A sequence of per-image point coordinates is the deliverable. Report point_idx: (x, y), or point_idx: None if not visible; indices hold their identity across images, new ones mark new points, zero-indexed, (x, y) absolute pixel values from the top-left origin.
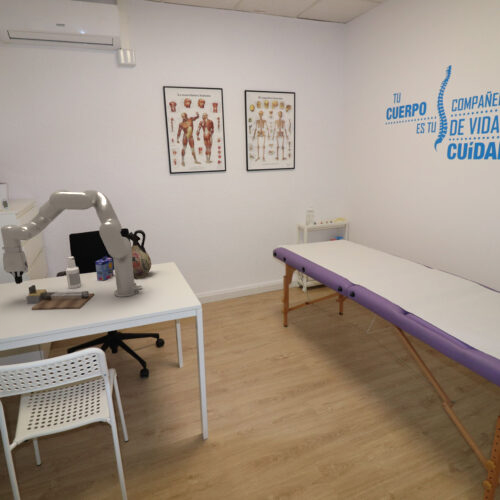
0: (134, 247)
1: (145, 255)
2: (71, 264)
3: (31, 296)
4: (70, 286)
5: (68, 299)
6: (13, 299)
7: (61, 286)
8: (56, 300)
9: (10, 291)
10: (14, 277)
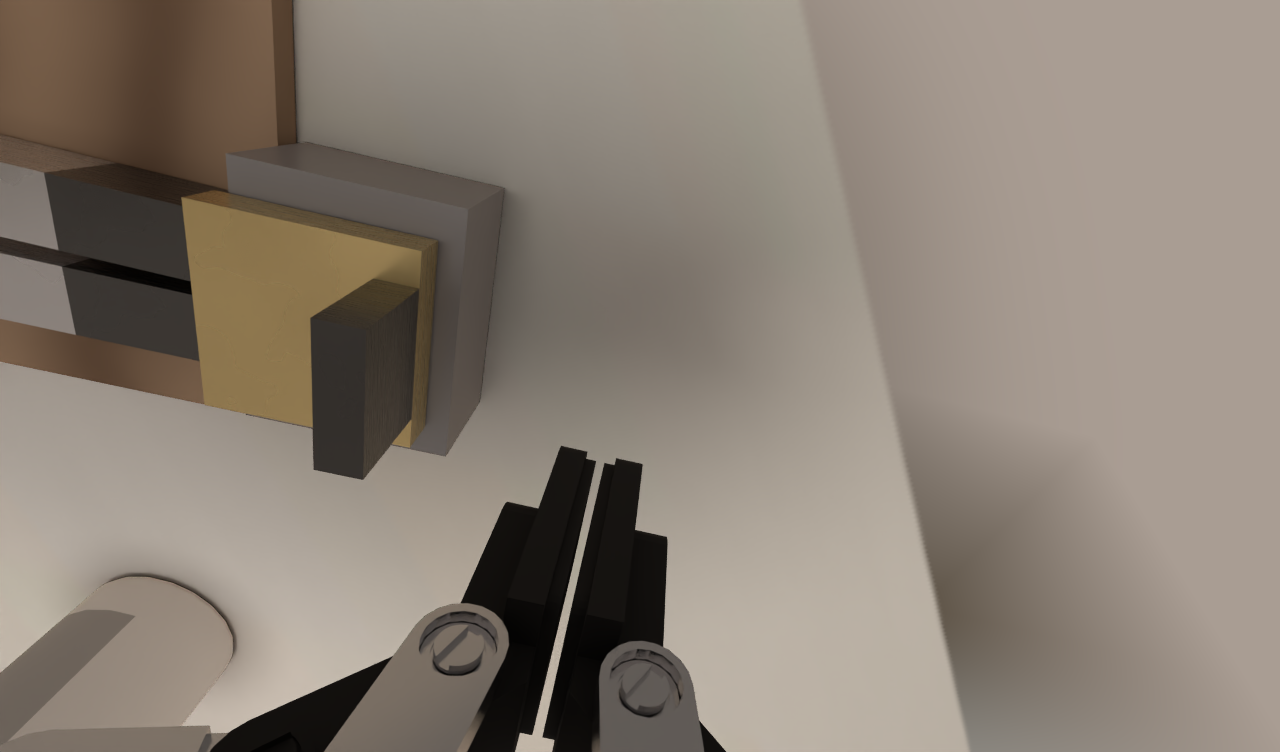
0: None
1: None
2: None
3: (378, 209)
4: (152, 603)
5: None
6: (781, 431)
7: (340, 673)
8: (15, 116)
9: (890, 690)
10: (661, 637)
